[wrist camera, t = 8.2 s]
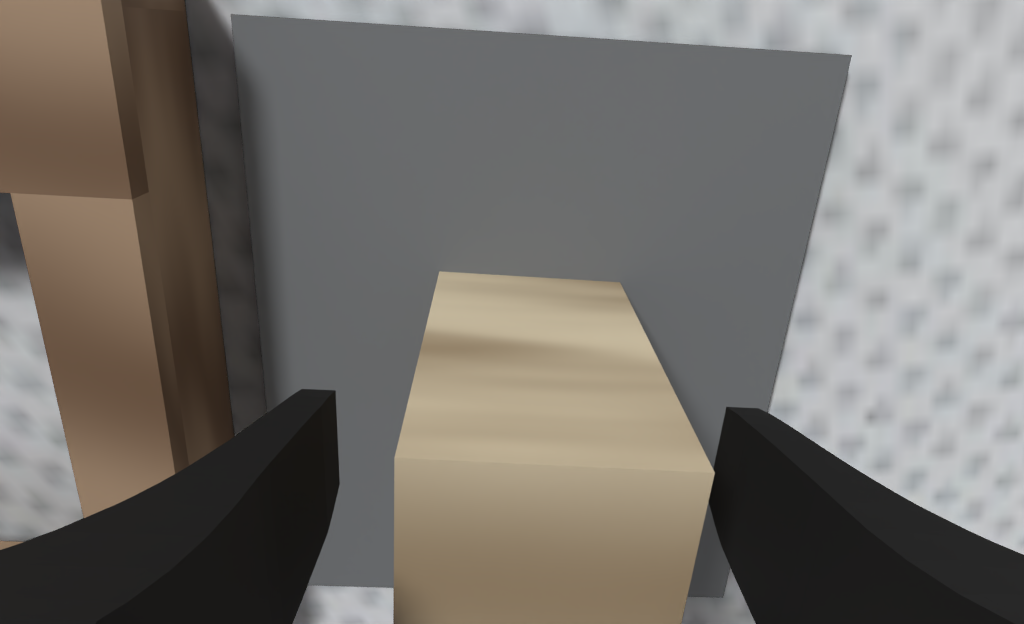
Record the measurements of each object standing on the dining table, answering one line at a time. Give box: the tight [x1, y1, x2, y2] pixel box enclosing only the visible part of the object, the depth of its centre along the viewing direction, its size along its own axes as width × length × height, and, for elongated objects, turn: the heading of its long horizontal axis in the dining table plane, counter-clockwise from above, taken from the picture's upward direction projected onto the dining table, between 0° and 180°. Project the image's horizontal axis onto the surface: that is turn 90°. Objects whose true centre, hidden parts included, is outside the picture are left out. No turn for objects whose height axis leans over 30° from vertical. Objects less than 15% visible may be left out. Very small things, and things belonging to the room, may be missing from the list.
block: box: [394, 271, 715, 624], centre depth 12 cm, size 4×4×7 cm
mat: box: [231, 14, 852, 598], centre depth 16 cm, size 14×12×1 cm
